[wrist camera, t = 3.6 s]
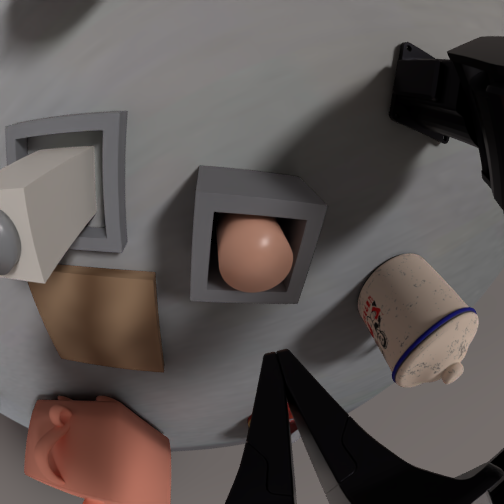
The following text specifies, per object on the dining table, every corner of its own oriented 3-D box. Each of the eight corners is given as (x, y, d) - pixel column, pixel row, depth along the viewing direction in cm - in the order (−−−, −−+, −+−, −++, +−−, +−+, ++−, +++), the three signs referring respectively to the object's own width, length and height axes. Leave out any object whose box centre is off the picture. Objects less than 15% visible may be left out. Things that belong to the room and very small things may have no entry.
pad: (155, 272, 20) (153, 280, 19) (164, 364, 26) (163, 372, 25) (28, 261, 17) (23, 268, 16) (63, 351, 23) (61, 358, 22)
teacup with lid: (339, 289, 23) (399, 400, 14) (418, 231, 21) (503, 316, 12) (375, 342, 29) (416, 421, 20) (434, 299, 27) (486, 369, 18)
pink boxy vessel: (78, 435, 38) (71, 506, 23) (0, 374, 26) (-24, 462, 11) (181, 437, 38) (188, 527, 23) (105, 372, 26) (88, 516, 11)
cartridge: (94, 145, 14) (12, 195, 7) (97, 211, 16) (38, 294, 9) (39, 149, 13) (-47, 199, 6) (45, 210, 16) (-22, 283, 8)
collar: (127, 110, 13) (119, 112, 12) (127, 241, 18) (122, 252, 17) (17, 123, 12) (5, 126, 10) (29, 235, 16) (20, 245, 15)
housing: (298, 176, 17) (327, 205, 13) (279, 258, 21) (297, 303, 16) (199, 165, 16) (195, 191, 12) (192, 253, 19) (190, 301, 15)
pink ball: (279, 199, 17) (300, 233, 13) (268, 250, 19) (284, 293, 15) (219, 193, 16) (223, 227, 12) (213, 246, 18) (215, 291, 14)
